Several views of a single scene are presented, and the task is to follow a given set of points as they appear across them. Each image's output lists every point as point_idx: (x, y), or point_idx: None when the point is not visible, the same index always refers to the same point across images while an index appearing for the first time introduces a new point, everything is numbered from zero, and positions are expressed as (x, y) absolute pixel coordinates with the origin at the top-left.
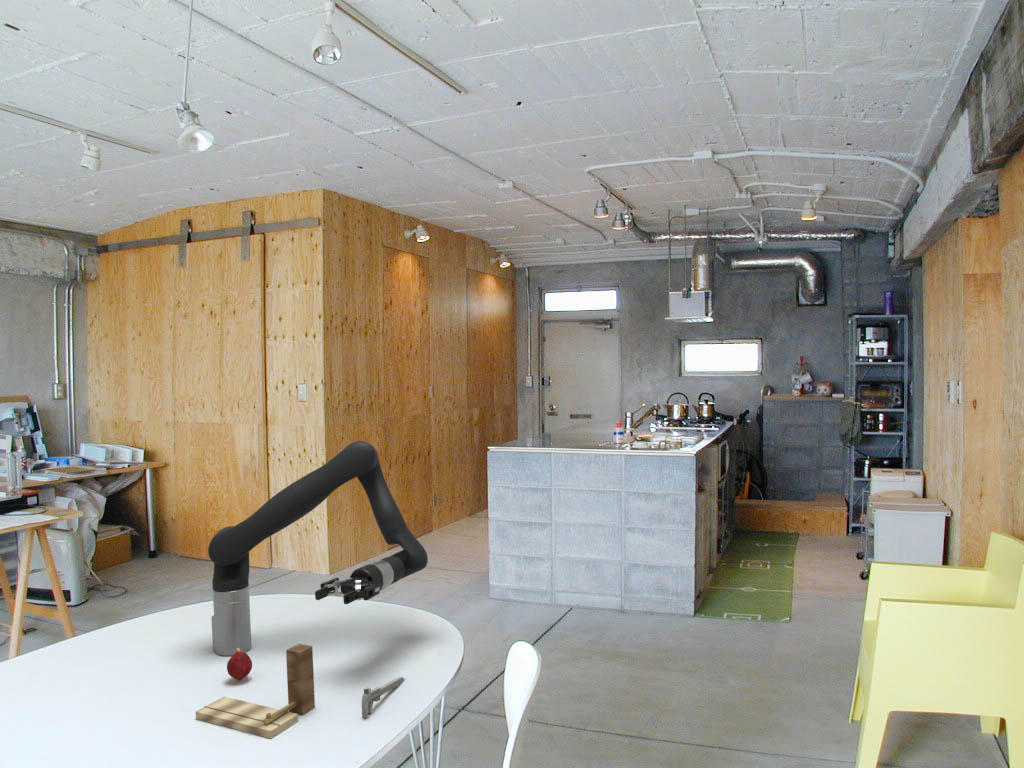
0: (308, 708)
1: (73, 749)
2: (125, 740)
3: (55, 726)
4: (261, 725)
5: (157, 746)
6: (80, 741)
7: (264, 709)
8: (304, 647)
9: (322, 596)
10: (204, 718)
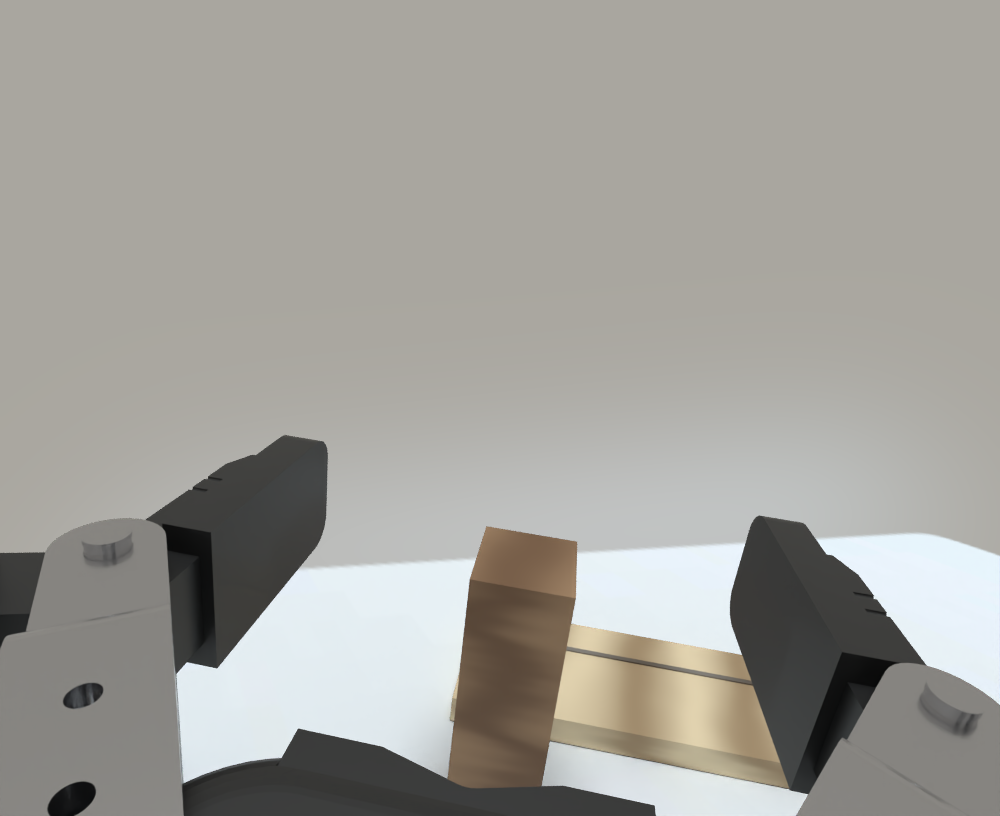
0: None
1: (878, 559)
2: None
3: None
4: None
5: (730, 578)
6: (913, 579)
7: (604, 709)
8: (504, 566)
9: (757, 653)
10: None
